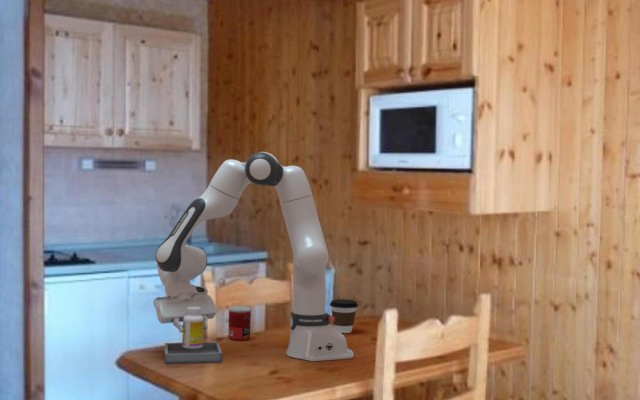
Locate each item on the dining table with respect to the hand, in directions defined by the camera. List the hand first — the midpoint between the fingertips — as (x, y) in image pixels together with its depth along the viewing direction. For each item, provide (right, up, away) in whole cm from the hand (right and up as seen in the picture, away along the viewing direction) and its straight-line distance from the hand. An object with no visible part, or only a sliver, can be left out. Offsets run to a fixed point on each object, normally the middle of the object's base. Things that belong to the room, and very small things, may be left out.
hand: (194, 330), depth 240 cm
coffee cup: (+50, -9, +47) cm, 69 cm away
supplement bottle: (-1, -6, +1) cm, 6 cm away
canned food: (+11, -9, +30) cm, 33 cm away
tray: (-1, -9, +1) cm, 9 cm away
